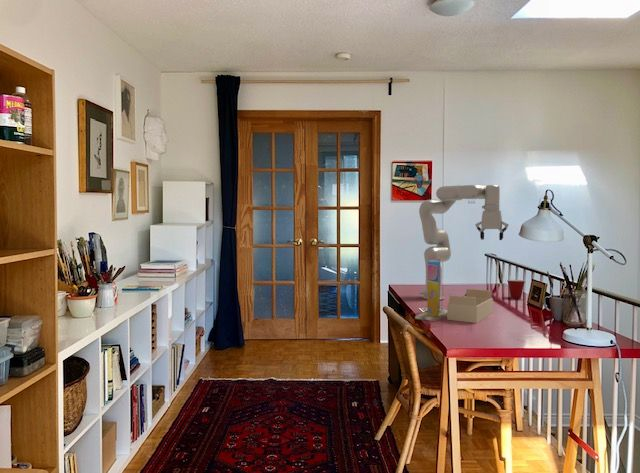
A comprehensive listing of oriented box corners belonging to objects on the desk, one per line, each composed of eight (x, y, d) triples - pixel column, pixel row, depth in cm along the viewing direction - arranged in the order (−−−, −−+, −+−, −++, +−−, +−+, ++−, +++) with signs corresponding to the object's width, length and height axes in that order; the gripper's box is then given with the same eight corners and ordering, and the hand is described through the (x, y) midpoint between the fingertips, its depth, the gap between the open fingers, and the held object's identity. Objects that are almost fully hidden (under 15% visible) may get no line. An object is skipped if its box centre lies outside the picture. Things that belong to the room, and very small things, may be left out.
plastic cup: (523, 297, 322) (523, 278, 321) (526, 300, 311) (527, 280, 311) (505, 297, 324) (505, 278, 324) (508, 299, 313) (508, 280, 313)
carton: (447, 319, 255) (447, 295, 254) (465, 310, 279) (465, 288, 278) (477, 322, 247) (477, 298, 246) (492, 313, 271) (492, 290, 270)
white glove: (415, 318, 257) (415, 315, 257) (432, 311, 277) (432, 308, 277) (436, 321, 251) (436, 318, 251) (452, 313, 271) (452, 310, 271)
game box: (438, 317, 253) (438, 261, 252) (427, 316, 255) (427, 261, 254) (439, 309, 274) (440, 258, 272) (429, 309, 275) (429, 258, 274)
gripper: (473, 208, 279) (473, 239, 280) (506, 207, 270) (506, 240, 270) (477, 208, 285) (477, 239, 286) (510, 208, 276) (509, 239, 277)
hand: (491, 239), depth 278 cm, fingers open, 9 cm apart
